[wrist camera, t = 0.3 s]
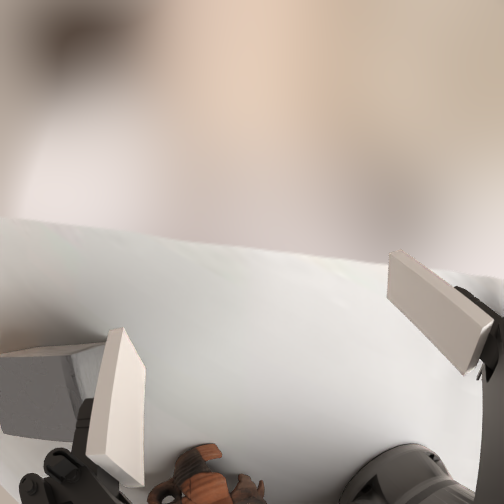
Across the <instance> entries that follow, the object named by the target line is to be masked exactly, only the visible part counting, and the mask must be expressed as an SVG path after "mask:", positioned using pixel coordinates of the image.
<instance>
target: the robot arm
mask: <svg viewBox="0 0 504 504" xmlns="http://www.w3.org/2000/svg"><path fill="white" fill-rule="evenodd" d="M387 298H388V299H389V300H390V301H391V302H392V303H393V304H394V305H395V306H396V307H397V308H398V309H399V310H400V311H401V312H402V313H403V314H404V315H405V316H406V317H407V318H408V319H409V320H410V321H411V322H412V323H413V324H414V325H415V326H416V327H417V328H418V329H419V330H420V331H421V332H422V333H423V334H424V335H425V336H426V337H427V338H428V339H429V340H430V341H431V342H432V343H433V344H434V345H435V346H436V347H437V348H438V350H439V351H440V352H441V353H442V354H443V355H444V356H445V357H446V358H447V359H448V360H449V361H450V362H451V363H452V364H453V365H454V366H455V367H456V369H457V370H458V371H459V372H460V373H461V374H462V375H463V376H465V375H467V374H468V373H469V372H471V371H472V370H474V369H475V368H476V366H477V363H478V361H479V358H480V359H481V360H482V361H483V364H482V367H481V369H480V371H479V373H478V375H477V379H476V380H479V378H480V376H481V374H482V388H483V419H482V440H481V453H480V463H479V471H478V479H477V485H476V492H474V491H472V490H470V489H468V488H466V487H465V486H463V485H461V484H459V483H458V482H456V481H454V480H453V478H452V477H451V475H450V473H449V472H448V470H447V469H446V467H445V465H444V464H443V462H442V461H441V459H440V458H439V456H438V455H437V454H436V453H435V452H433V451H431V450H430V449H428V448H426V447H424V446H422V445H418V444H407V445H402V446H398V447H395V448H393V449H390V450H388V451H386V452H384V453H383V454H381V455H379V456H378V457H376V458H375V459H373V460H372V461H370V462H369V463H368V464H367V465H365V466H364V467H363V468H362V469H361V470H360V471H359V472H358V473H357V474H356V475H355V476H354V477H353V479H352V480H351V481H350V482H349V484H348V485H347V487H346V488H345V490H344V492H343V494H342V496H341V498H340V501H339V504H504V317H503V318H502V317H500V316H499V315H498V314H497V313H495V312H494V311H493V310H492V309H490V308H489V307H488V306H487V305H485V304H484V303H483V302H480V300H479V299H478V298H476V297H474V295H472V294H471V293H470V292H468V291H467V290H465V289H463V288H460V287H458V286H455V287H452V286H451V285H450V284H448V283H447V282H446V281H444V280H443V279H442V278H440V277H439V276H438V275H436V274H435V273H434V272H432V271H431V270H429V269H428V268H427V267H425V266H424V265H422V264H421V263H420V262H418V261H417V260H415V259H414V258H413V257H411V256H410V255H408V254H407V253H405V252H404V251H403V250H401V249H400V250H397V251H394V252H391V253H389V268H388V286H387ZM145 378H146V367H145V366H144V364H143V362H142V360H141V359H140V357H139V355H138V353H137V351H136V350H135V348H134V346H133V344H132V342H131V340H130V338H129V336H128V335H127V333H126V331H125V329H124V327H122V328H117V329H113V330H109V333H108V337H107V341H106V345H105V349H104V354H103V358H102V362H101V367H100V372H99V376H98V381H97V386H96V391H95V396H94V398H87V399H85V400H84V401H83V403H82V405H81V406H80V408H79V412H78V417H77V420H78V421H77V422H76V429H75V433H74V439H73V445H72V451H71V452H70V451H69V450H67V449H65V448H55V449H54V450H52V451H50V452H49V453H48V454H47V456H46V458H45V460H44V471H45V473H46V474H47V475H49V476H50V477H47V478H44V479H43V478H41V477H40V476H39V475H37V474H34V473H29V474H27V475H25V476H24V477H23V478H22V479H21V481H20V484H19V493H20V497H21V501H22V504H132V503H131V501H130V500H129V499H128V498H127V497H126V496H125V495H124V494H123V493H122V492H121V491H119V483H121V484H122V485H124V486H125V487H126V488H132V487H145V486H144V400H145Z"/></svg>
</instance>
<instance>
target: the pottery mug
mask: <svg viewBox="0 0 504 504" xmlns="http://www.w3.org/2000/svg"><path fill="white" fill-rule="evenodd" d="M221 457H222V453H221V451H220V450H219V449H218V447H217V446H216V445H215V444H206V445H201V446H199V447H196V448H193V449H191V450H189V451H186V452H185V453H184V454H182V455H181V456H180V457H179V458H178V460H177V461H176V464H175V470H174V475H173V478H170V479H169V480H168V481H166V482H163V483H161V484H159V485H157V486H156V487H154V488H153V489H152V490H151V492H150V493H149V495H148V499H147V502H148V503H149V504H162V500H163V499H164V498H165V497H166V496H173V497H174V498H175V499H174V500H173V501H172V502H170V503H167V504H267V503H266V501H265V500H264V499H263V497H264V483H263V480H260V481H259V486H258V488H257V487H256V485H255V483H254V482H252V481H251V478H250V477H249V476H248V475H244V474H239V475H238V480H239V482H238V483H237V485H236V487H235V489H234V490H233V491H232V492H231V493H230V494H229V490H228V487H227V483H226V478H225V477H224V476H223V475H222V474H220V473H217V472H211V469H210V468H209V467H208V466H207V465H206V463H205V461H208V460H212V459H216V458H221ZM182 493H183V494H184V495H185V496H184V497H182Z"/></svg>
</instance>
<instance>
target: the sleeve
mask: <svg viewBox="0 0 504 504" xmlns="http://www.w3.org/2000/svg"><path fill="white" fill-rule="evenodd" d="M105 345H106V342H98V343H87V344H74V345H60V346H43V347H35V348H30V349H24V350H19V351H14V352H8V353H3V354H0V425H1V428H2V431H3V433H4V434H9V435H14V436H21V437H27V438H34V439H42V440H52V441H62V442H73V439H74V433H75V429H76V422H77V421H78V420H77V417H78V412H79V408H80V406H81V405H82V403H83V401H84V400H85V399H87V398H94V396H95V391H96V386H97V381H98V376H99V372H100V367H101V362H102V358H103V354H104V349H105Z"/></svg>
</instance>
